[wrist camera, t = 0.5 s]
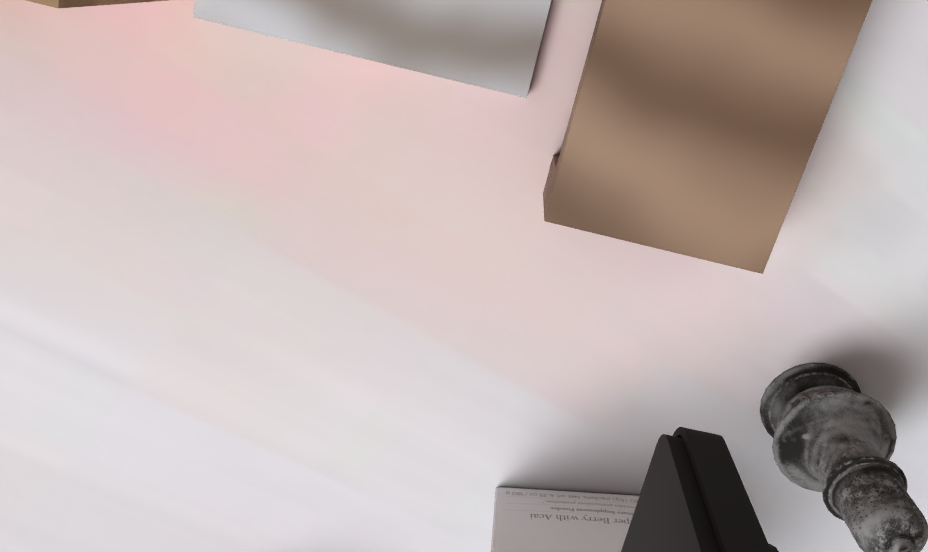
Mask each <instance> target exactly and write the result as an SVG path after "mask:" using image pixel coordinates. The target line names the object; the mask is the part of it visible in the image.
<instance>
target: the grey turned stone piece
mask: <svg viewBox="0 0 928 552" xmlns="http://www.w3.org/2000/svg"><path fill="white" fill-rule="evenodd" d="M760 414H761V420H762V423H763V425H764V427H765V428H766V430H767V432H768V433H769V434H770V435H771V436H772V437H773V438H774V439H773V447H772V448H773V453H774V459H775V461H776V463H777V465H778V467H779V469H780V470H781V472H782V473H783V474H784V475H785V476H786V477H787V478H788V479H789V480H790V481H791V482H793V483H795V484H797V485H799V486H801V487H803V488H806V489H809V490H813V491H817V492H823V500H824V503H825V505H826V507H827V508H828V510H829V511H830V512H831V513H832V514H833V515H834V516H835V517H837V518H839V519H841V520H843V521H845V523H846V524H847V526H848V528H849V530H850V531H851V533H852V535H853V537H854V538H855V540H856V542H857V544H858V545H859V547H860V548H861V549H862V550H863V551H864V552H920V551H921V550H922V549H923V547H924V546H925V544H926V542H927V539H928V525H927V522H926V520H925V517H924V515H923V514H922V513H921V511H920V510H919V508H918V507H917V506H916V504H915V503H914V502H913V500H912V499H911V497H910V496H909V495H908V493H907V492H906V491H907V480H906V477H905V475H904V473H903V471H902V470H901V469H900V468H899V467H898V466H897V465H896V464H895V463H893V462H891V461H889V459H890V457H891V456H892V454H893V452H894V448H895V443H896V438H897V437H896V429H895V424H894V422H893V420H892V418H891V416H890V414H889V412H888V411H887V410H886V409H885V408H884V407H883V406H882V405H881V404H880V403H879V402H878V401H876V400H874V399H872V398H871V397H869V396H867V395H865V394H861V390H860V388H859V386H858V384H857V382H856V381H855V380H854V379H853V378H852V377H851V376H850V375H849V374H848V373H847V372H846V371H844V370H842V369H840V368H838V367H837V366H833V365H829V364H825V363H808V364H804V365H799V366H796V367H793V368H791V369H789V370H787V371H785V372H783V373H782V374H781V375H779V376H778V377H777V378H775V379H774V380H773V381H772V383H771V384H770V385H769V386H768V387H767V389H766V390H765V393H764V395H763V397H762V399H761V406H760Z"/></svg>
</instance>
